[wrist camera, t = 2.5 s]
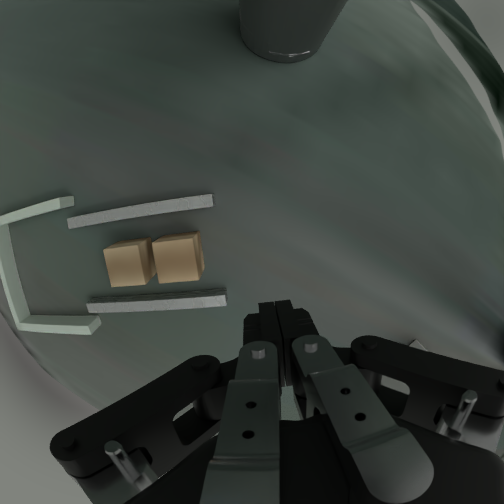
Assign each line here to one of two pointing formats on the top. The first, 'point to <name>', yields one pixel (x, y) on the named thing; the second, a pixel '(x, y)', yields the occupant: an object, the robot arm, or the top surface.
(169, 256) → the tan cube
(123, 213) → the slot rails
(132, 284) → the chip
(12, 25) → the top surface
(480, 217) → the top surface
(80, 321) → the frame
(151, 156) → the top surface
